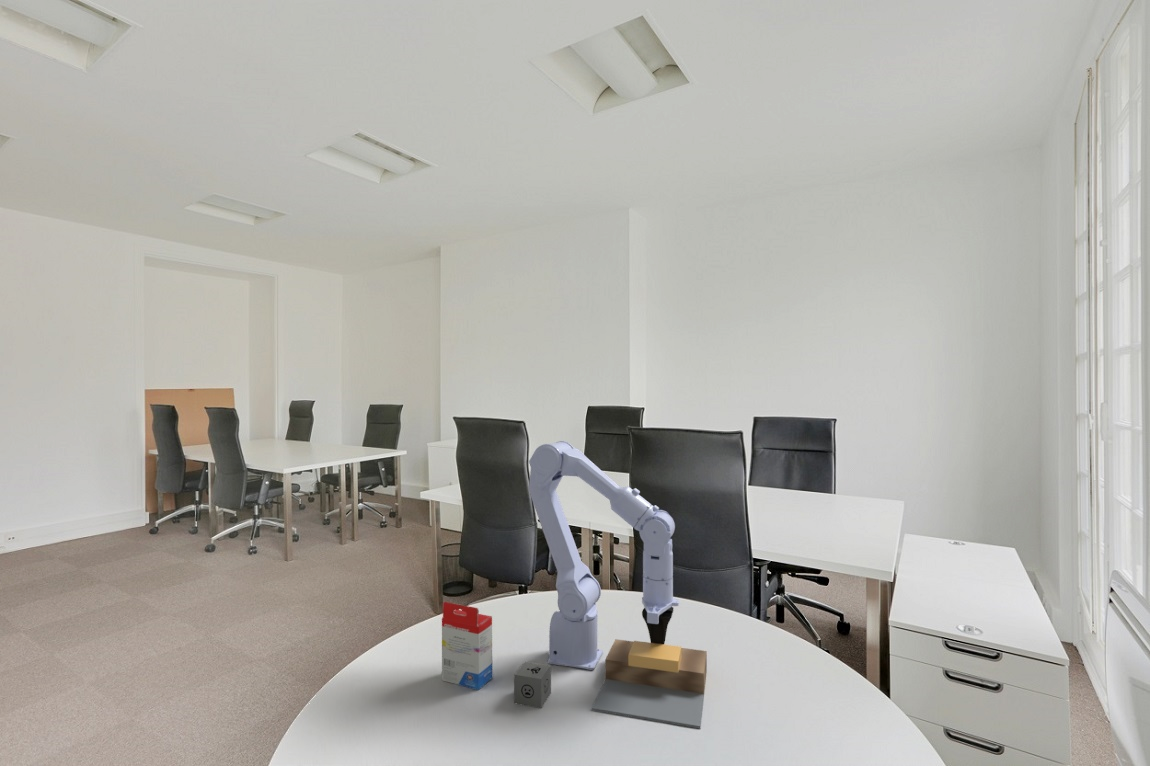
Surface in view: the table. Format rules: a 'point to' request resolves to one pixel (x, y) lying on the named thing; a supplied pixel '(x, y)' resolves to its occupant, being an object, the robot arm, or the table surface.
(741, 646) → the table surface
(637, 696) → the mat
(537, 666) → the dice cube
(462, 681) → the ink box
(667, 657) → the yellow orange block
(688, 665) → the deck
